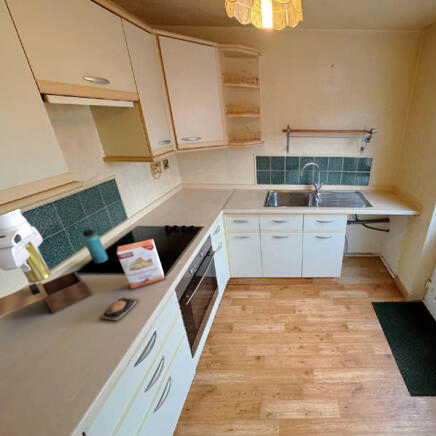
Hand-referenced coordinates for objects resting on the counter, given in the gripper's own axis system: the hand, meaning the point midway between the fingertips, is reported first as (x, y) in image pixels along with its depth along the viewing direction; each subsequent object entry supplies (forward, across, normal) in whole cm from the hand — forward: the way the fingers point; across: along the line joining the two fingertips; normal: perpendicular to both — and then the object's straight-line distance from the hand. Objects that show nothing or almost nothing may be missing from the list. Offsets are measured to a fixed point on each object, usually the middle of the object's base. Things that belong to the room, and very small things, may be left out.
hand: (32, 265), depth 83 cm
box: (+25, -11, -1) cm, 27 cm away
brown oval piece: (+25, +8, +21) cm, 34 cm away
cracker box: (+25, -6, +31) cm, 40 cm away
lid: (+17, -6, -11) cm, 21 cm away
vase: (+6, 0, 0) cm, 6 cm away
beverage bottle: (+25, -36, +7) cm, 44 cm away
